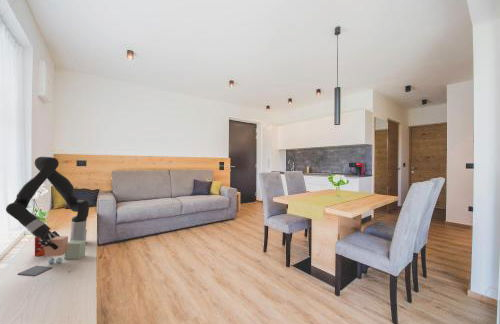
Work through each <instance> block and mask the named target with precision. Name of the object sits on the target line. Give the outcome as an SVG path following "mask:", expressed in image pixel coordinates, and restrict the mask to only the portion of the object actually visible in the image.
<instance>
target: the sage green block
mask: <svg viewBox="0 0 500 324" xmlns="http://www.w3.org/2000/svg"><path fill="white" fill-rule="evenodd" d="M86 244H87V240H86V241H70V240H69V241H68V247H67V252H66V253H65V254H63V255H64V257H63V258H64V260H80V259H82V258H83V257H85V256H86Z"/></svg>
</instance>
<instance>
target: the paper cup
mask: <svg viewBox="0 0 500 324" xmlns="http://www.w3.org/2000/svg"><path fill="white" fill-rule="evenodd" d="M33 236H34V235H33ZM39 239H40V237H39V238H37V237H35V236H34V257H41V256H42V257H43V256H44V254H45V246H44V245H43V244H42V243H40V242H39V241H38V240H39Z"/></svg>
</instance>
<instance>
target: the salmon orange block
mask: <svg viewBox="0 0 500 324" xmlns="http://www.w3.org/2000/svg"><path fill="white" fill-rule="evenodd" d="M51 241H52V242H53V243H54V244H56V245H57V246H58V248H57V249H56V250H54V249H53V248H52V247H51V246H47V247H46V246H45V254H44V255H43V256H44V257H59V256H63V255H65V253H66V252H67V247H68V242H69V236H68V235H66V236H65V235H64V236H63V235H62V236H61V235H60V236H57V237H54V238H52V240H51ZM50 243H51V242H50ZM45 244H46V243H45Z"/></svg>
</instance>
